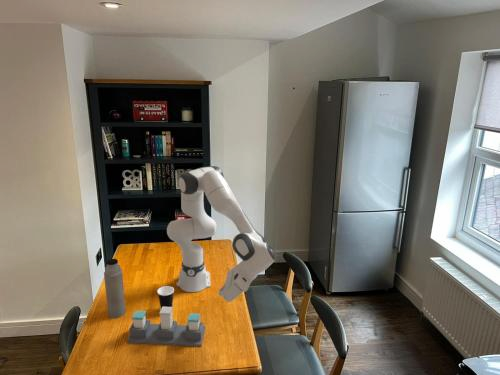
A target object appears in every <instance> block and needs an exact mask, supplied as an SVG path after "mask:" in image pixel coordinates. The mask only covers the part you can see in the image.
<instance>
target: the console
mask: <svg viewBox="0 0 500 375" xmlns="http://www.w3.org/2000/svg"><path fill="white" fill-rule="evenodd" d="M177 323H178V321H177V320H173V325H172V328H171V330H167V329H161V321H160V322H159V323H151V319H146V325H145V327H144V328H134V323H133V322H132V323H131V325H130V327H129V329H128V330H129V336H128V337H127V339H126V343H127V344H141V345H143V344H144V345H160V346H161V345H162V346H183V347H184V346H185V347H202V344H203V342H204V335H205V332H206V328H207V327H206V325H204V322H203V321H200V329H199V331H189V322H188V321H187V323H186V324H177Z"/></svg>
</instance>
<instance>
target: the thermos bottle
mask: <svg viewBox="0 0 500 375" xmlns="http://www.w3.org/2000/svg"><path fill="white" fill-rule="evenodd" d="M105 264H106V266H105V268H104V272H103V277H104V288H105V297H106V298H105V299H106V307H107V316H108V317H109V318H112V319H119V318H121V317H123V316H124V315H125V314H126V313H127V312H126V310H127V309H126V300H125V288H124V276H123V275H124V274H123V269H122V268H121V265H120V264H119V262H118V259H117V258H110V259H107V261H106V263H105Z"/></svg>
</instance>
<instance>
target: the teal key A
mask: <svg viewBox="0 0 500 375" xmlns="http://www.w3.org/2000/svg"><path fill="white" fill-rule="evenodd" d="M146 314H147V311H145V310H135V311H134V312H133V315H132V318H131V319H132V321H133V322H132V323H134V328H144V327H145V325H146V320H147V319H146Z"/></svg>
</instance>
